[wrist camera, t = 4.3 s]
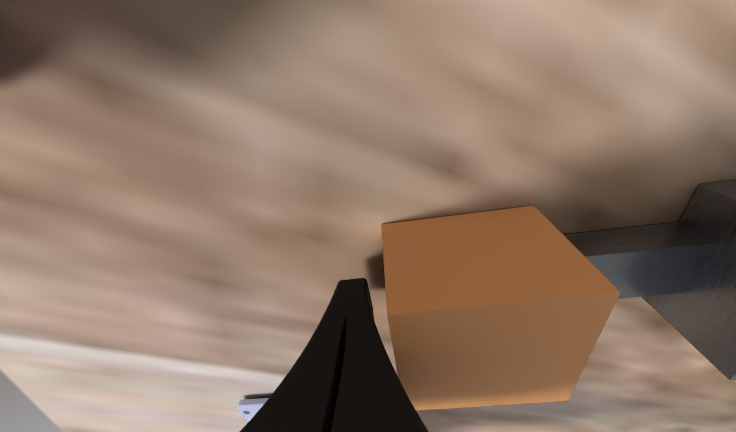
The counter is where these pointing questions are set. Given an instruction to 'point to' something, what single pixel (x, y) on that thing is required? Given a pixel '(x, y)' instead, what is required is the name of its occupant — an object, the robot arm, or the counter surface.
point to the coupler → (680, 269)
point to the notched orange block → (490, 308)
